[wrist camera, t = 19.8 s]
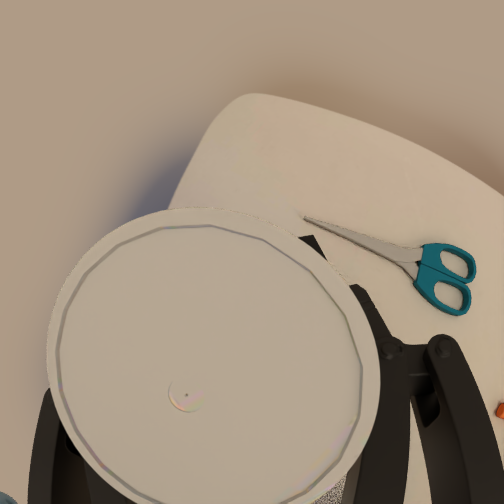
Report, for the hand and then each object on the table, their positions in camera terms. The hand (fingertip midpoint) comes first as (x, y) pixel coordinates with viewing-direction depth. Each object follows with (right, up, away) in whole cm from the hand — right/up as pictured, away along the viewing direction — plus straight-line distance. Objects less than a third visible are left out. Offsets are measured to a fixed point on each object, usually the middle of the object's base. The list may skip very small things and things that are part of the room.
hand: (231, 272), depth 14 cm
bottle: (+1, -5, +5) cm, 7 cm away
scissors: (+15, +1, +10) cm, 18 cm away
